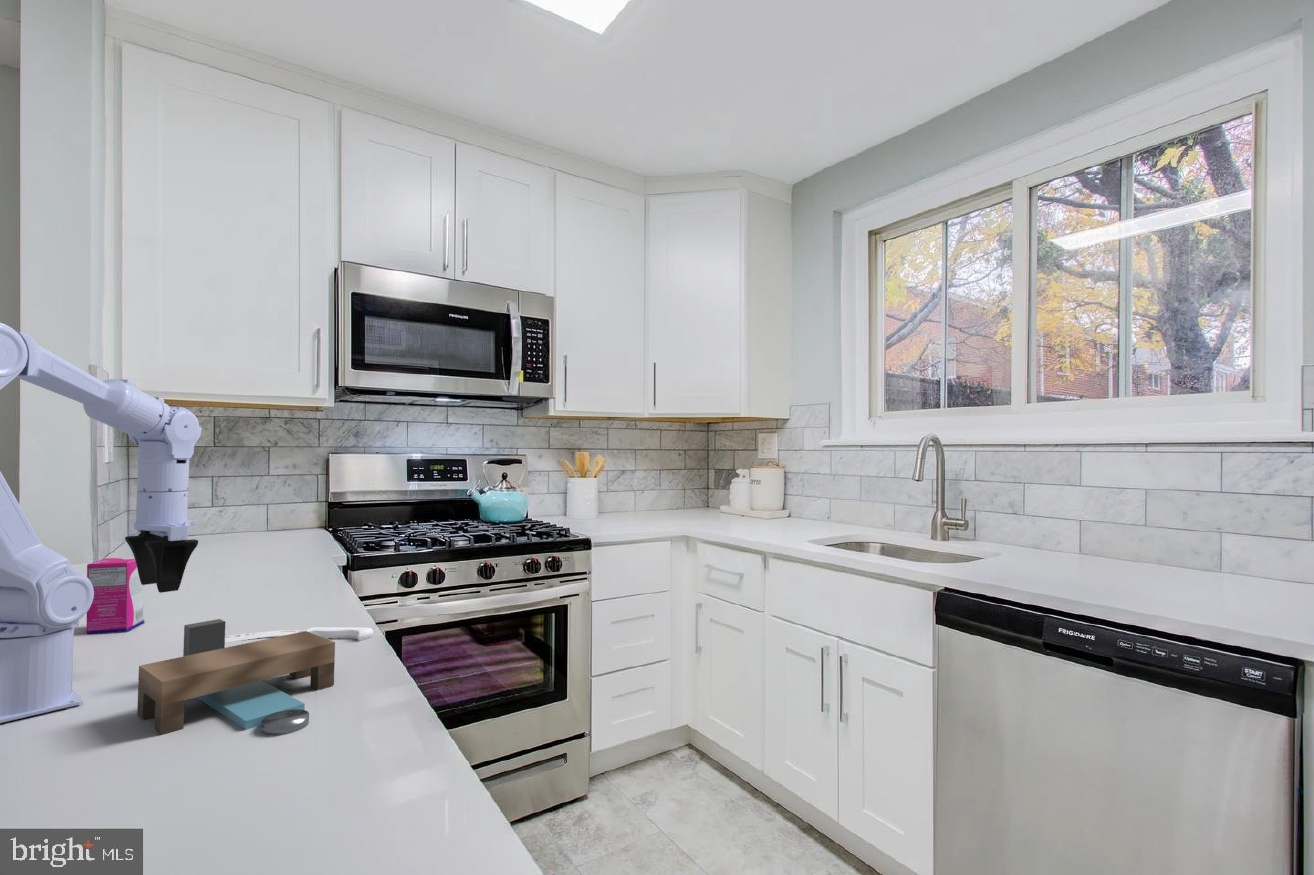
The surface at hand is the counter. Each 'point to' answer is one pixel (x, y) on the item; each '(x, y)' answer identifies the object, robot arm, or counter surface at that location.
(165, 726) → the low wooden stool
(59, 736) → the counter surface
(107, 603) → the supplement box
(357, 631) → the knife
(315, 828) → the counter surface
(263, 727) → the steel token
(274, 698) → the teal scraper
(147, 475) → the robot arm
